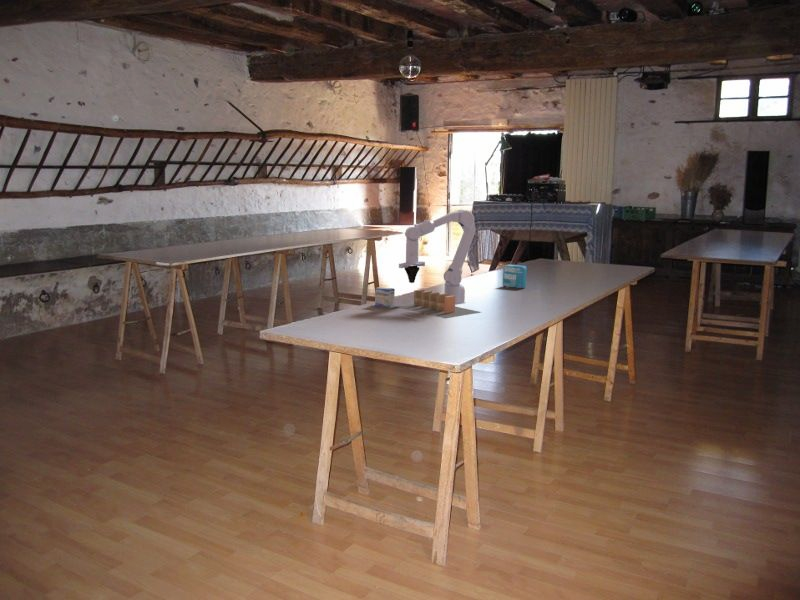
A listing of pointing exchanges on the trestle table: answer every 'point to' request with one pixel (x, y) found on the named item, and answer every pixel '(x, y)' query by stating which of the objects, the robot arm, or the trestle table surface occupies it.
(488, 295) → the trestle table surface
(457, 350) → the trestle table surface
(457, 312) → the mat
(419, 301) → the domino
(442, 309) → the domino
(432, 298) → the domino
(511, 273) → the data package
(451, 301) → the domino
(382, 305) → the medicine box
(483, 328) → the trestle table surface
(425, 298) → the domino
